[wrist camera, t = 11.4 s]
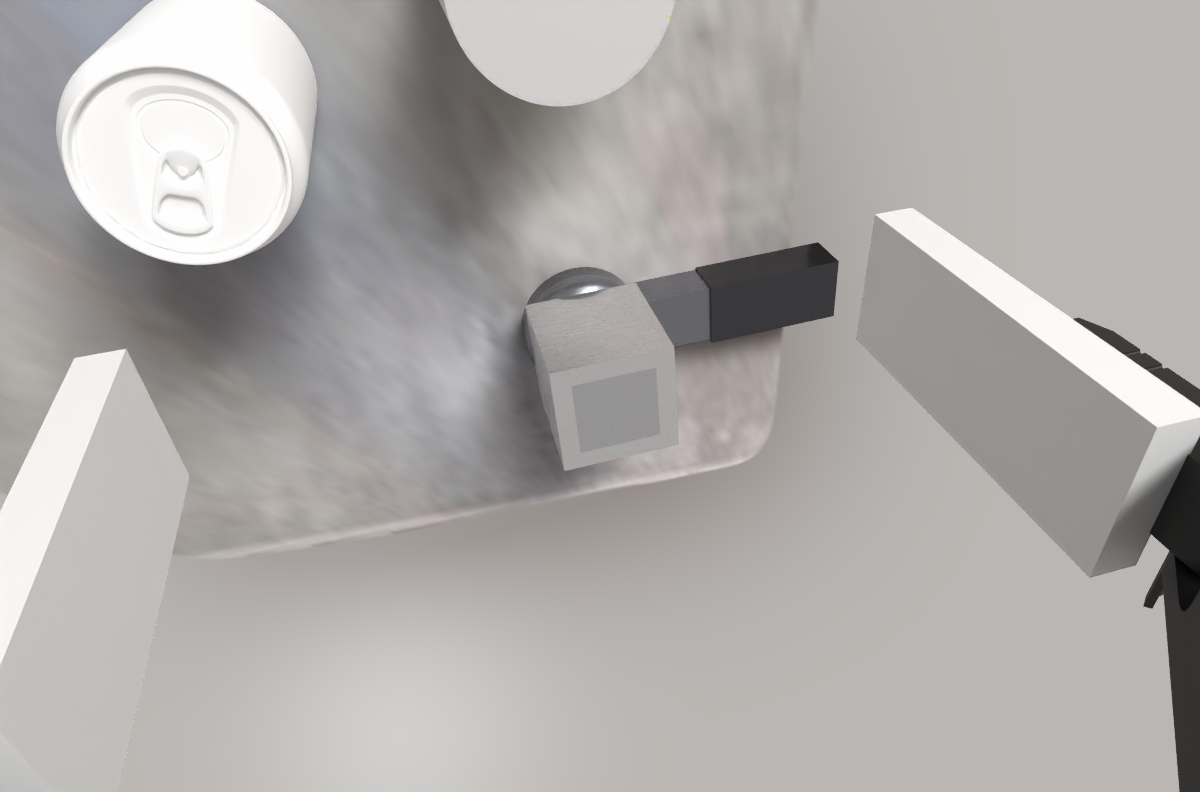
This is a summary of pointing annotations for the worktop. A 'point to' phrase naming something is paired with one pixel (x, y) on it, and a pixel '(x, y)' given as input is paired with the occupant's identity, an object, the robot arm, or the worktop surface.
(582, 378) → the brushed cube with inset
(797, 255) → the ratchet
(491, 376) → the worktop surface
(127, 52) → the beverage can
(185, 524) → the worktop surface
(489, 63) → the cup
